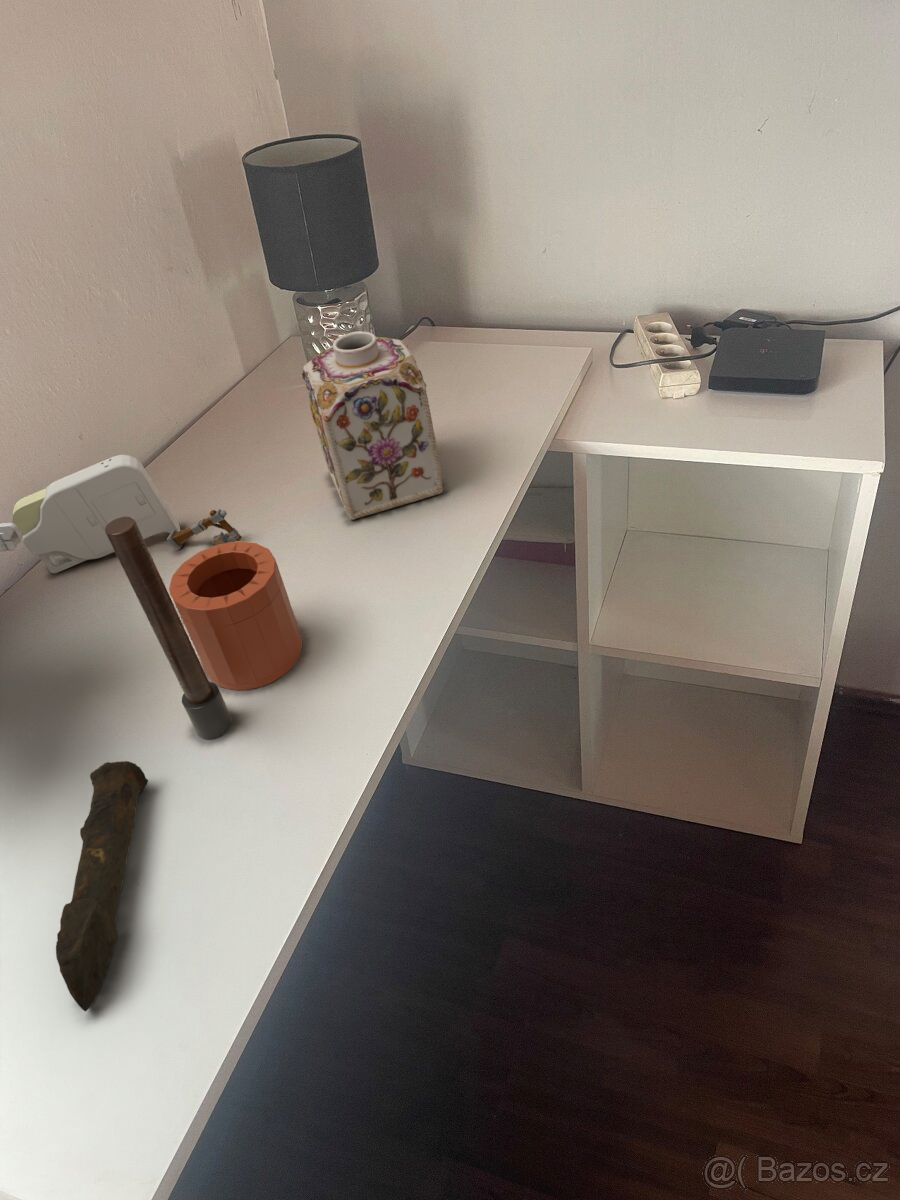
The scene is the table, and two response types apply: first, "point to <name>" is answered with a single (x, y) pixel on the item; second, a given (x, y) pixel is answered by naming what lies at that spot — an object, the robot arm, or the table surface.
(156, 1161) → the table surface
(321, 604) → the table surface
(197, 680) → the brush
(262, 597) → the terracotta plant pot
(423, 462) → the decorative jar
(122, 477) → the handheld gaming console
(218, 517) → the wooden post with brackets
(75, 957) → the hand tool
